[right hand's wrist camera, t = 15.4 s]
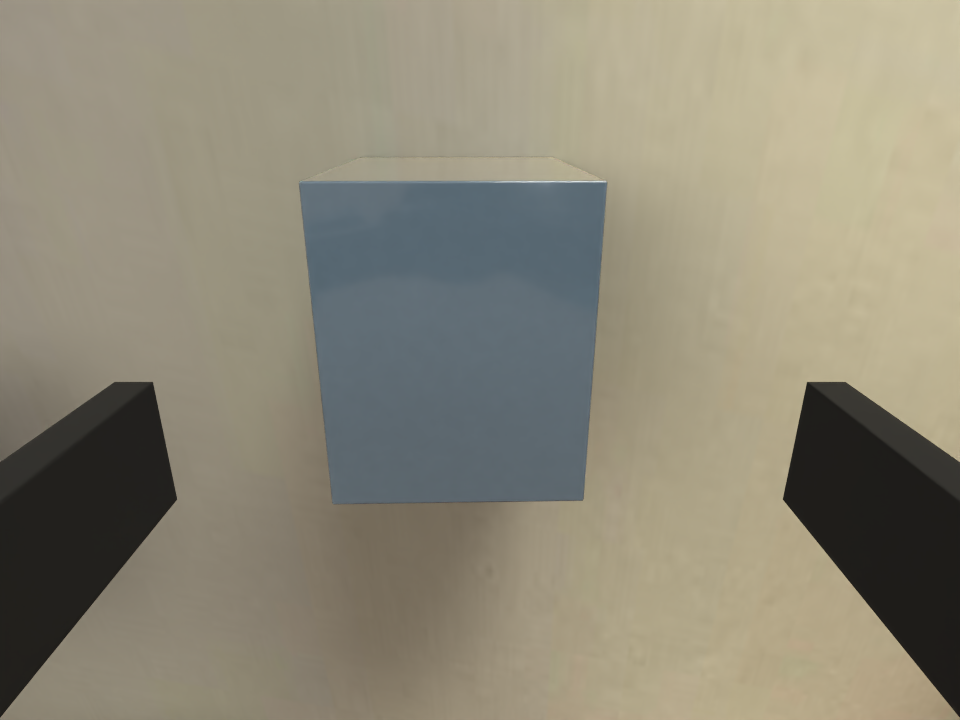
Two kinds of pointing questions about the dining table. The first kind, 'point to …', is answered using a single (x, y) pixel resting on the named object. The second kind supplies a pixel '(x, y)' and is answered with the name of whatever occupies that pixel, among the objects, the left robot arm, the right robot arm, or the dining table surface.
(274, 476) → the dining table surface
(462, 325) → the blue-grey block
